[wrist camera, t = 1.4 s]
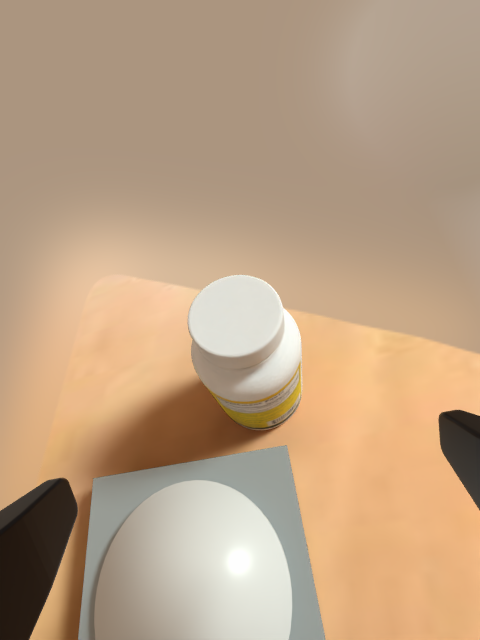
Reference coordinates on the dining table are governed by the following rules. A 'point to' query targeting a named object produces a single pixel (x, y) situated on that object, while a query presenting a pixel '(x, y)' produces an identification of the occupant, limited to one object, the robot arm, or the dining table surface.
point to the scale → (199, 554)
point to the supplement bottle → (247, 351)
